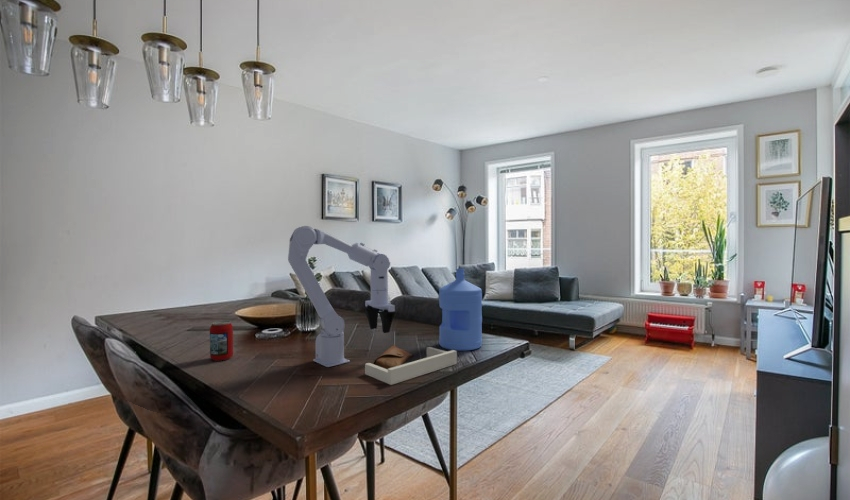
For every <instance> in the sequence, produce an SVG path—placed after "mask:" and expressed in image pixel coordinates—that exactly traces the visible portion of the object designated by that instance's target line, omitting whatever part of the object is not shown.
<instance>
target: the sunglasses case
mask: <svg viewBox="0 0 850 500" xmlns="http://www.w3.org/2000/svg"><path fill="white" fill-rule="evenodd" d="M413 356H414V355H413V354H412V353H410V352H408V351H406V350H404V349H401V348H399V347H398V346H396V345H395V344H392V345H391V346H390V347H389V348H387V349H386V350H385V351H384V352H382V353H381V354H380V355H379V356H378V357H377V358H376V359H375V360H374V361H373V363H372V364H374V365H377V366H379V367H382V368H385V369H387V370H388V369H389V368H392V367H396V366H399V365H403V364H406V363H407V362H408V360H410V359H411V358H412V357H413Z"/></svg>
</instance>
